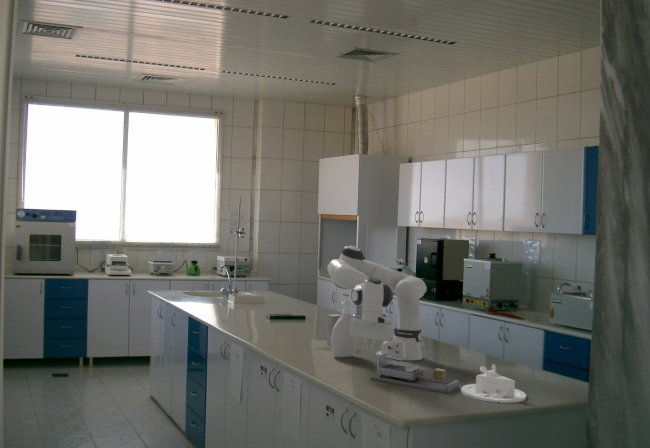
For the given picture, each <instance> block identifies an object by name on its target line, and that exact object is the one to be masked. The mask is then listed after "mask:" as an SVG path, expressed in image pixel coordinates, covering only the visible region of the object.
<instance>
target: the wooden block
mask: <svg viewBox="0 0 650 448" xmlns="http://www.w3.org/2000/svg"><path fill="white" fill-rule="evenodd" d="M446 379H447V370H446V369H443V368H438V367H437V368H435V369H433V378H432V380H438V381H443V382H446Z"/></svg>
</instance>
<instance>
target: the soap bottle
mask: <svg viewBox="0 0 650 448" xmlns="http://www.w3.org/2000/svg"><path fill="white" fill-rule="evenodd" d="M340 304H341V305H342V306H344V308H342V310H341V315H342V316H341V317H340V318H339V319H338V320H337V322H336V324H335V325H334V327H333V331H332V336H331V345H330V348H331V349H330V350H331V352H332V354H333V356H334V357H335V358H337V359H338V358H341V359H342V358H344V359H345V358H352V357H354V356H355V354H356V352H357V348H358V344H359V337H355V336H350V334H349V327H350V318H351V315H350V314H351V310H350V308H348V306H352V303H351V302H350V301H349V300H344V301H340Z"/></svg>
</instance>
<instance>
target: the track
mask: <svg viewBox="0 0 650 448" xmlns="http://www.w3.org/2000/svg"><path fill="white" fill-rule="evenodd" d="M380 375H381V374H376V375H370V380H372V381H378V382H383V383H388V384H395V385H400V386H404V387H410V388H416V389H420V390H426V391H431V390H432V391H431V392H438V393H442V394H448V395H449V394H450V393H452V392H454V391H456V390H457V389H460V383H459V382H460V380H459V379H454V380H453V381H451V382H447V381H438V380H433V378H432V379H430V378H425V377H422V376H421V377H420V378H419V379H418V380H412V383H409V382H407V380H408V379H403V378H398V377H392V376H387V375H385V378H381V377H380Z"/></svg>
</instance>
